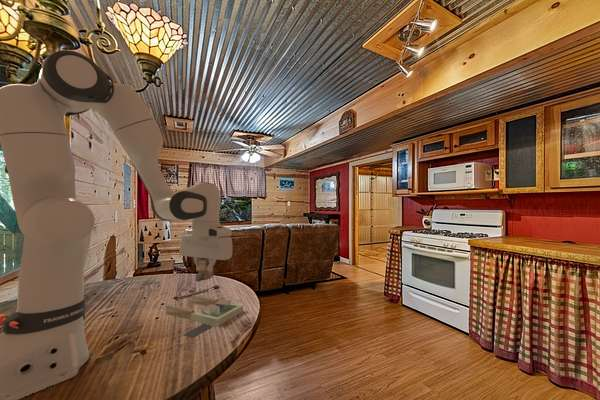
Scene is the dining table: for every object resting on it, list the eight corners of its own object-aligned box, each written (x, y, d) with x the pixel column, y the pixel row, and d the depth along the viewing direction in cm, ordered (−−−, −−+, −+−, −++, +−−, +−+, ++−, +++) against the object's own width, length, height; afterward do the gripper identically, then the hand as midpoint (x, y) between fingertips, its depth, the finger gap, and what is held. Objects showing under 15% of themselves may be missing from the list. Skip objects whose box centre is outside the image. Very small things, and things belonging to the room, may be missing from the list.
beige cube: (224, 316, 88) (224, 304, 88) (213, 315, 89) (214, 303, 89) (230, 311, 91) (230, 300, 92) (220, 310, 92) (220, 299, 93)
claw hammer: (180, 304, 100) (180, 302, 100) (172, 299, 105) (172, 297, 104) (225, 290, 117) (225, 288, 117) (217, 286, 121) (217, 284, 121)
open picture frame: (217, 327, 79) (218, 319, 79) (190, 320, 84) (191, 313, 84) (242, 312, 91) (243, 305, 91) (218, 307, 95) (218, 300, 95)
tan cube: (209, 323, 82) (209, 310, 82) (201, 320, 84) (201, 307, 85) (219, 319, 85) (219, 306, 86) (211, 316, 88) (212, 304, 88)
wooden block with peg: (200, 281, 83) (200, 261, 83) (193, 280, 84) (194, 260, 85) (215, 277, 90) (215, 258, 90) (208, 276, 91) (209, 257, 91)
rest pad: (193, 339, 72) (193, 337, 72) (182, 336, 73) (182, 334, 73) (213, 327, 79) (213, 326, 79) (203, 324, 81) (203, 323, 81)
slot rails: (191, 320, 84) (191, 311, 84) (165, 314, 89) (165, 305, 89) (217, 307, 95) (217, 299, 95) (193, 302, 100) (193, 294, 100)
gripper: (175, 229, 89) (174, 269, 88) (223, 231, 81) (222, 276, 80) (190, 228, 94) (188, 266, 94) (235, 230, 86) (234, 272, 86)
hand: (204, 271), depth 87 cm, fingers closed on wooden block with peg, 3 cm apart
